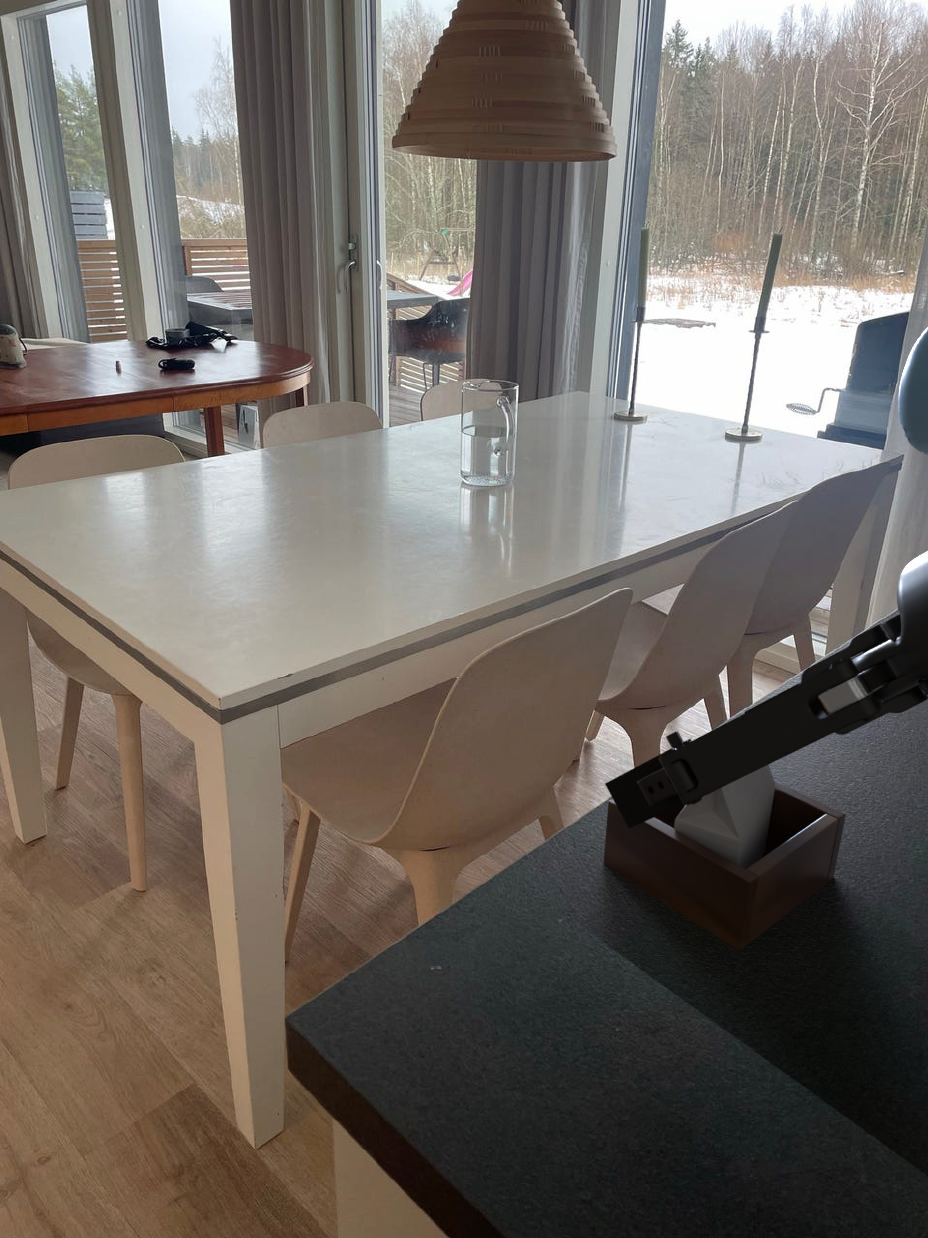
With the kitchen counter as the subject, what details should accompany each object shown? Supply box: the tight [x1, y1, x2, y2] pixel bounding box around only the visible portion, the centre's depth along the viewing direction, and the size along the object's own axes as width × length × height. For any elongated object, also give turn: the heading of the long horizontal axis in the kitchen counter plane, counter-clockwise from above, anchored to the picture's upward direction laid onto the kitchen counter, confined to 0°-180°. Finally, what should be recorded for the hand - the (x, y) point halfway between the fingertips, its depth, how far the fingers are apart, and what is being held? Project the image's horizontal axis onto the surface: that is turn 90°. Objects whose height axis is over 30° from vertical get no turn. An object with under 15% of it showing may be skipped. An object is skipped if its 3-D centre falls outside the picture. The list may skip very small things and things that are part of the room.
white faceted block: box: [674, 764, 776, 869], centre depth 54 cm, size 4×7×10 cm, turn 147°
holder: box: [603, 779, 846, 951], centre depth 55 cm, size 10×10×6 cm
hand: (694, 764), depth 55 cm, fingers open, 12 cm apart
